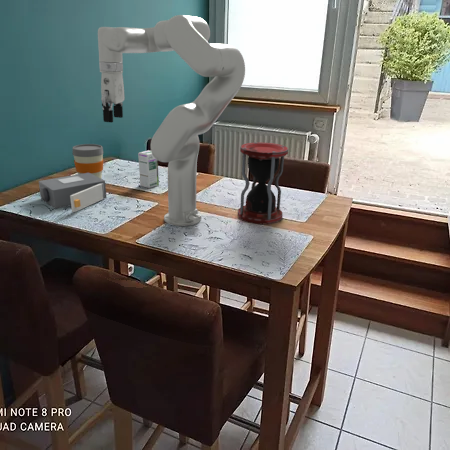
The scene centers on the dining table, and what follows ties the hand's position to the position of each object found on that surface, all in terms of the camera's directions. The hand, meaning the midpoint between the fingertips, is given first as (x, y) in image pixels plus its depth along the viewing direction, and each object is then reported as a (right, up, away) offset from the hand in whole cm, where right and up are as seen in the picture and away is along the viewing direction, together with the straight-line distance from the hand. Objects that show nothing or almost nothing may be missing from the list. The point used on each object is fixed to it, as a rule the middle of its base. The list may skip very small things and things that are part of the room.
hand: (113, 119), depth 150 cm
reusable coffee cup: (-19, -18, +37) cm, 45 cm away
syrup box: (+7, -20, +33) cm, 40 cm away
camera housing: (-19, -27, +15) cm, 36 cm away
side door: (-11, -29, +8) cm, 32 cm away
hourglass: (+52, -34, +4) cm, 62 cm away
